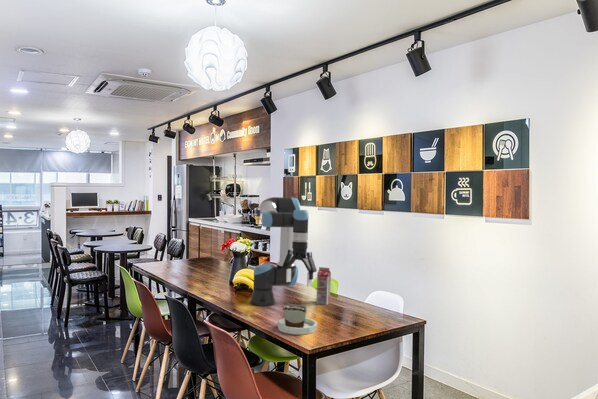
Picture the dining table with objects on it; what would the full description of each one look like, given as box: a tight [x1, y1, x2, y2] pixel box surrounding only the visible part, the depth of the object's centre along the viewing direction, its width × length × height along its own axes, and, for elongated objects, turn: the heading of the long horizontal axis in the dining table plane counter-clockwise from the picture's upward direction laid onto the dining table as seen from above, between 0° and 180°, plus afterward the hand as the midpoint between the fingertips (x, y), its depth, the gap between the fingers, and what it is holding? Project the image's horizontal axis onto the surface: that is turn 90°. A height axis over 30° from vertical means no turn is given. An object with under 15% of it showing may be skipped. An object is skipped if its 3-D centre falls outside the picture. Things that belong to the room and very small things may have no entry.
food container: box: [282, 304, 308, 328], centre depth 213 cm, size 12×6×10 cm, turn 73°
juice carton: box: [315, 266, 332, 306], centre depth 266 cm, size 7×7×22 cm
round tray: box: [277, 317, 318, 336], centre depth 213 cm, size 19×19×3 cm
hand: (298, 283), depth 213 cm, fingers open, 13 cm apart
